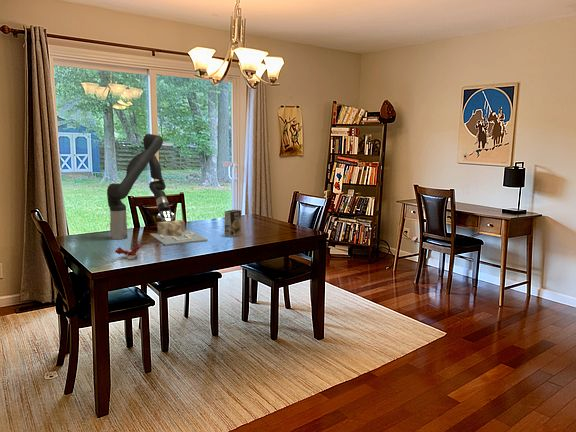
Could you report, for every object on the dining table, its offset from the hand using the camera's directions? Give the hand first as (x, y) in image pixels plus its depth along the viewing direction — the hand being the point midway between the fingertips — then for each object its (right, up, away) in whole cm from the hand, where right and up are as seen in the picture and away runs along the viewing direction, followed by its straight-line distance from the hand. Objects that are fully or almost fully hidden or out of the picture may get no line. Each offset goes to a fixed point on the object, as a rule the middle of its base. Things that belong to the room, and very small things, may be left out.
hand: (169, 226), depth 291 cm
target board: (+9, -7, -13) cm, 17 cm away
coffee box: (+42, -6, -3) cm, 42 cm away
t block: (+5, -5, -6) cm, 9 cm away
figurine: (-4, -15, -59) cm, 61 cm away
